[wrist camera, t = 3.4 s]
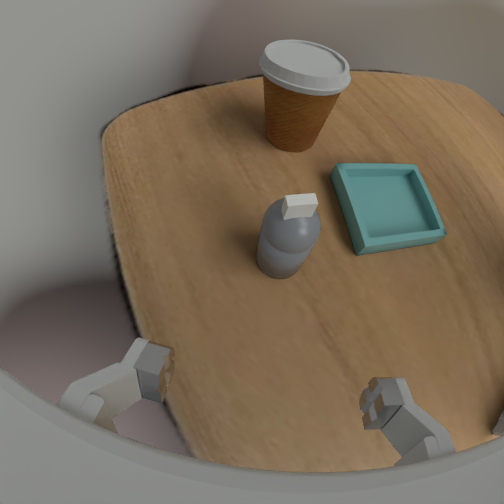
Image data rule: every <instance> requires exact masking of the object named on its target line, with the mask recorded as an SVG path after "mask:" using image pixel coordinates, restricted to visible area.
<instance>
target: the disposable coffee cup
mask: <svg viewBox="0 0 504 504" xmlns="http://www.w3.org/2000/svg"><path fill="white" fill-rule="evenodd" d="M259 65H260V67H261V69H262V72H263V81H264V99H265V100H264V101H265V119H266V120H265V122H266V136H267V138H268V140H269V141H270V142H271V143H272V144H273V145H274V146H276V147H278V148H280V149H282V150H285V151H290V152H300V151H305V150H307V149H309V148H310V147H311V146H312V145H313V143H314V141H315V139H316V138H317V136H318V134H319V132H320V130H321V128H322V126H323V125H324V123H325V121H326V119H327V117H328V115H329V114H330V112H331V110H332V108H333V106H334V104H335V103H336V100H337V98H338V97H339V95H340V93H341V91H343V90H344V88H346V87H347V86H348V85H349V83H350V81H351V76H350V73H349V65H348V62H347V61H346V60H345V59H344V58H343V57H342V56H341V55H340V54H338V53H337V52H335V51H333V50H332V49H330V48H327V47H325V46H323V45H320V44H316V43H313V42H308V41H303V40H279V41H275V42H273V43H271V44H269V45H268V46H267V47H266V49H265V51H264V53H263V54H262V55H261V56H260V58H259Z"/></svg>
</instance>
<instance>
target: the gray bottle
mask: <svg viewBox="0 0 504 504" xmlns="http://www.w3.org/2000/svg"><path fill="white" fill-rule="evenodd" d="M317 205H318V201H317V198H316V195H315V193H309V194H296V195H285V198H282V199H280V200H277V201H276V202H274V203H273V204H272V205H271V206H270V207H269V208H268V209H267V211H266V212H265V214H264V217H263V221H262V226H261V232H260V237H259V243H258V248H257V254H256V259H257V263H258V266H259V268H260V269H261V270H262V272H263V273H265V274H266V275H267V276H269V277H271V278H275V279H285V278H288V277H291V276H292V275H294V274H295V273H296V272H297V271H298V269H299V268H300V266H301V265H302V263H303V262H304V260H305V259H306V257H307V256H308V254H309V253H310V251H311V250H312V248H313V246H314V245H315V243H316V242H317V240H318V238H319V235H320V230H321V224H320V218H319V216H318V213H317V211H316V210H315V209H316V207H317Z"/></svg>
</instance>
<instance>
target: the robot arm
mask: <svg viewBox="0 0 504 504" xmlns="http://www.w3.org/2000/svg"><path fill="white" fill-rule="evenodd" d="M173 356H174V348H173V347H169V346H166V345H162V344H159V343H156V342H152V341H149V340H145V339H142V338H139V337H138V338H137V339H136V340H135V341H134V343H133V344H132V346H131V347H130V349H129V350H128V352H127V354H126V355H125V357H124V358H123V360H122V362H121V363H115V364H113V365H110V366H108V367H106V368H104V369H102V370H99V371H97V372H95V373H92V374H90V375H88V376H86V377H83V378H81V379H79V380H76V381H74V382H72V383H71V384H70V385H69V387H68V388H67V390H66V391H65V393H64V394H63V395H62V397H61V398H60V400H59V401H58V403H57V404H55V403H53V402H52V401H50V400H48V399H46V398H45V397H43V396H42V395H40V394H38V393H37V392H35V391H34V390H32V389H31V388H29V387H27V386H26V385H24V384H23V383H22V382H20V381H18V380H17V379H16V378H14V377H13V376H12V375H10V374H9V373H7V372H6V371H5V370H4V369H2V368H1V367H0V504H504V435H502V436H500V437H498V438H495V439H493V440H490V441H488V442H485V443H483V444H480V445H477V446H474V447H471V448H469V449H466V450H462V451H459V452H456V450H455V447H454V444H453V441H452V438H451V436H450V433H449V431H448V430H446V429H445V428H444V427H443V426H442V425H441V424H439V423H438V422H437V421H436V420H435V419H434V418H432V417H431V416H430V415H429V414H428V413H427V412H426V411H424V410H423V409H422V408H421V407H420V406H419V405H417V404H414V401H413V399H412V396H411V393H410V391H409V388H408V386H407V383H406V381H405V379H404V378H403V377H394V378H392V377H373V378H372V379H371V380H370V381H369V383H368V384H369V387H367V388H366V389H364V390H363V392H362V394H361V396H360V400H359V405H360V410H361V411H362V412H363V413H364V415H363V417H362V420H363V425H364V430H380V429H382V430H381V431H382V432H383V434H384V435H385V436H386V437H387V439H388V440H389V441H390V442H391V444H392V445H393V446H394V447H395V449H396V450H397V451H398V452H399V454H400V455H401V456H402V458H401V459H400V460H399V461H398V462H396V463H395V465H394V467H387V468H380V469H371V470H361V471H347V472H287V471H273V470H262V469H253V468H246V467H239V466H232V465H226V464H220V463H215V462H210V461H205V460H201V459H196V458H192V457H188V456H184V455H180V454H176V453H173V452H169V451H166V450H162V449H159V448H156V447H153V446H150V445H146V444H144V443H141V442H138V441H135V440H133V439H130V438H127V437H124V436H122V435H119V434H117V430H116V428H115V426H114V424H113V422H112V418H114V417H115V416H117V415H118V414H120V413H121V412H123V411H124V410H126V409H127V408H129V407H130V406H132V405H133V404H135V403H136V402H138V401H139V400H141V399H142V398H146V399H149V400H152V401H156V402H159V403H162V402H163V399H164V397H165V395H166V392H167V386H166V385H168V384H169V383H170V382H171V380H172V377H173V373H174V361H173V360H172V358H173Z"/></svg>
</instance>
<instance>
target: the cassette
mask: <svg viewBox="0 0 504 504" xmlns="http://www.w3.org/2000/svg"><path fill="white" fill-rule="evenodd" d="M492 432H493V434H494V435H498V436H502V435H504V411H503V413H502V414H501V416H500V418H499V419H498V423H497V425H496V426H495V428H494V429H493V431H492Z"/></svg>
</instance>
